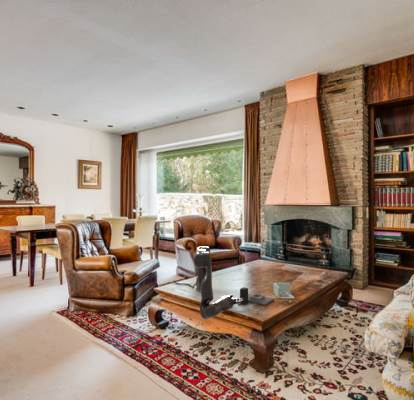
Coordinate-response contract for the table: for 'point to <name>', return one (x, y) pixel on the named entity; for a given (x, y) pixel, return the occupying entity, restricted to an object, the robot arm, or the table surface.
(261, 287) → the table surface
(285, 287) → the l-shaped corner panel
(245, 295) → the pad block
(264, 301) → the base pad
